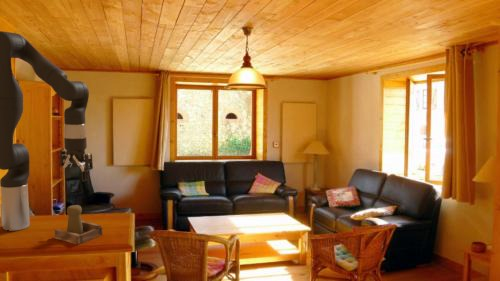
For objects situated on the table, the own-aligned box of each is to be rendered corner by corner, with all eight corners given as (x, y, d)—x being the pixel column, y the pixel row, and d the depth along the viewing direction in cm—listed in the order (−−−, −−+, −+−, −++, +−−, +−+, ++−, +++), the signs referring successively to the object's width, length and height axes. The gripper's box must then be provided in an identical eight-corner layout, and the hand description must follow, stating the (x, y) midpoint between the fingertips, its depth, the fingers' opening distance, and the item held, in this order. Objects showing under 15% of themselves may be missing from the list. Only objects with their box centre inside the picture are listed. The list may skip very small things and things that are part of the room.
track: (53, 237, 151) (53, 227, 151) (78, 228, 161) (77, 219, 161) (78, 244, 146) (78, 234, 145) (102, 234, 156) (102, 224, 155)
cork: (76, 237, 151) (75, 209, 149) (62, 235, 152) (61, 207, 151) (87, 232, 156) (86, 204, 155) (74, 230, 158) (73, 202, 157)
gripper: (52, 135, 148) (54, 178, 150) (81, 139, 142) (82, 184, 144) (70, 133, 155) (71, 175, 157) (97, 136, 149) (98, 180, 151)
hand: (76, 179), depth 151 cm, fingers open, 8 cm apart
